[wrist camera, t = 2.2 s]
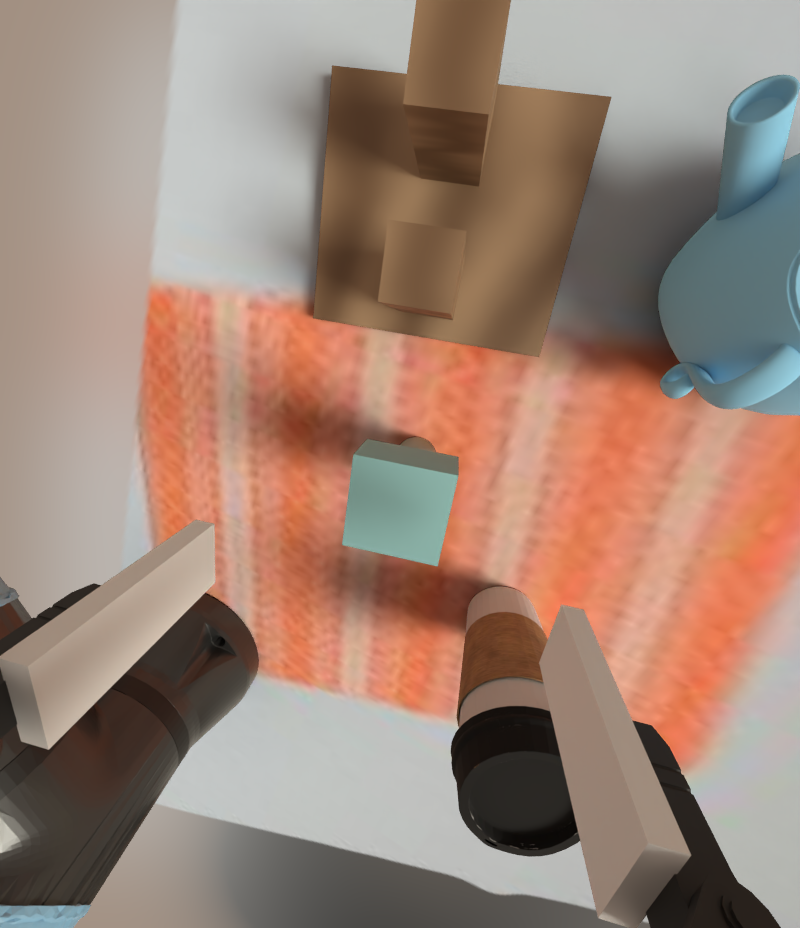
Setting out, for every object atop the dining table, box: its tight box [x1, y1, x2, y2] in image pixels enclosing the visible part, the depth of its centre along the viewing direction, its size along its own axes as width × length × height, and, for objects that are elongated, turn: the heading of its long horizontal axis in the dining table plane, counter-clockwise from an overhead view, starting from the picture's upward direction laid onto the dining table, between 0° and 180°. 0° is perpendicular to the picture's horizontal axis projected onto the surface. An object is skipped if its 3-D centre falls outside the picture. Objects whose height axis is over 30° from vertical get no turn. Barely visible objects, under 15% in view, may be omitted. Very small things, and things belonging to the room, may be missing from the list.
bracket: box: [313, 0, 611, 357], centre depth 21 cm, size 16×14×9 cm
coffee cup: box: [451, 586, 580, 856], centre depth 27 cm, size 8×8×15 cm
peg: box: [342, 437, 458, 566], centre depth 25 cm, size 6×6×10 cm
